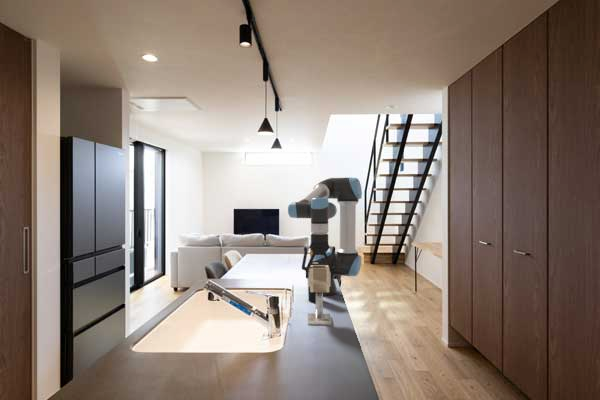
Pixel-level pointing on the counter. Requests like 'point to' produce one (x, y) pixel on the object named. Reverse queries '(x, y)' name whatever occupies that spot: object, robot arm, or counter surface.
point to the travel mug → (311, 294)
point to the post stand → (319, 313)
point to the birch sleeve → (319, 278)
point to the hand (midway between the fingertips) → (319, 285)
